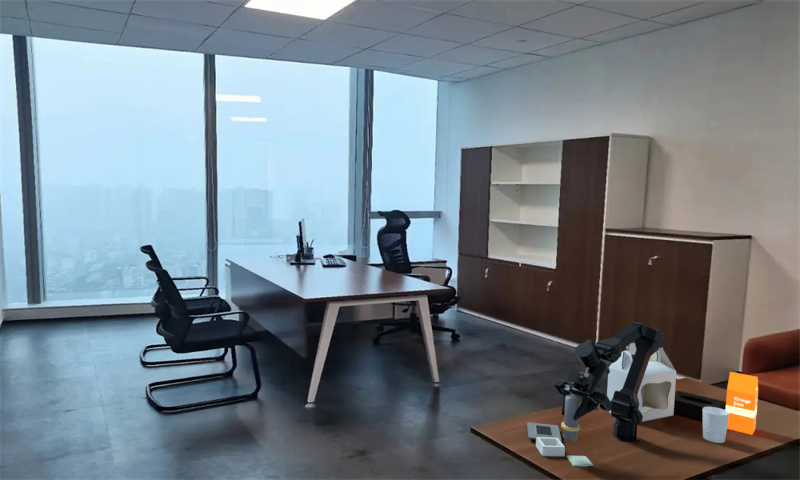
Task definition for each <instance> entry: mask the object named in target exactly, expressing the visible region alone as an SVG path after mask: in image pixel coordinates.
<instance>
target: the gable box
mask: <svg viewBox="0 0 800 480" xmlns="http://www.w3.org/2000/svg"><path fill="white" fill-rule="evenodd" d="M625 349H626V350H622V352H621V357H620V358H619V359H618V360H617V361H616V362H614V363H611V364H610V365H609V370H610V373H609V374H608V373H607V374H608V375H607V389H606V390H607V391H606V395H607V397H608V398H609V400H610V401H611V400H612V398H613V395H614V392H615V391H620V390H621V389H622V388H623V386H624V383H625V380H626V377H627V375H628V372H629V369H630V366H631V363H632V361H633V356H634V355H635V352H636V346H635V343H634V342H632V343H631V344H630V345H628V346H627V347H626V348H625ZM676 379H677V370H676V368H675V366H674V364H673V363H672V361H671V360H670V358H669V356H668V355H667V353H666V352H665V350H664V347H661V346H660V347H659V350H658V351H657V352H655V353H654V354H653V355H651V357H650V360H649V362H648V365H647V368H646V371H645V374H644V377H643V380H642V383H641V385H640V388H639V391H638V394H637V396H638V400H639V408H638V409H639V411H640V412H641V414H642V415H643V419H642V422H641V423H643V422H646V421H647V422H648V421H652V420H656V419H657V420H658V419H662V418H668V417H672V416H674V413H675V409H674V408H675V400H676V399H675V398H676V397H675V396H676V383H677V380H676ZM606 412H607V413H609V414H611V410H610V411H609V412H608V411H606Z"/></svg>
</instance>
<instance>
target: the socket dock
mask: <svg viewBox="0 0 800 480" xmlns="http://www.w3.org/2000/svg"><path fill="white" fill-rule="evenodd" d="M535 447H536V448H537V451H539V453H540V455H541V456H542V457H565V453H566V446H565V445H564V443H562V442H561V441H560V440H559V439H558V438H552V437H536V440H535Z"/></svg>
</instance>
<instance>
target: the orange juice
mask: <svg viewBox="0 0 800 480" xmlns="http://www.w3.org/2000/svg"><path fill="white" fill-rule="evenodd" d="M758 397H759V377H758V376H755V375H749V374H746V373H745V374H744V373H738V372H733V371H730V372H729V377H728V383H727V387H726V397H725V398H726V401H725V410H726V411H728V412H729V419H728V427H727V430H731V431H735V432H738V433H739V432H740V433H743V434H747V435H751V436H752V435H754V433H755V431H756V425H757V412H758V399H759V398H758Z"/></svg>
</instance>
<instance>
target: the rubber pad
mask: <svg viewBox="0 0 800 480" xmlns="http://www.w3.org/2000/svg"><path fill="white" fill-rule="evenodd" d="M566 458H567V460H568V461H569V462H570V464H571V465H572V467H588V466H593V467H594V464H593V463H592V461H591V460H590V459H589V458H588V457H587V456H586V455H566Z"/></svg>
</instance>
